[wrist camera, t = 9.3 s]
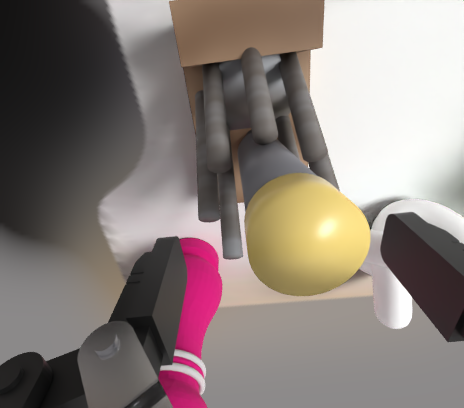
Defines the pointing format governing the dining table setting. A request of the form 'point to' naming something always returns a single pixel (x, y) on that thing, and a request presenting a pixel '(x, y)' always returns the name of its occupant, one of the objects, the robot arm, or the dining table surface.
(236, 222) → the knife block
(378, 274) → the white knot
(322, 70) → the dining table surface
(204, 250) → the pepper mill
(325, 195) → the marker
